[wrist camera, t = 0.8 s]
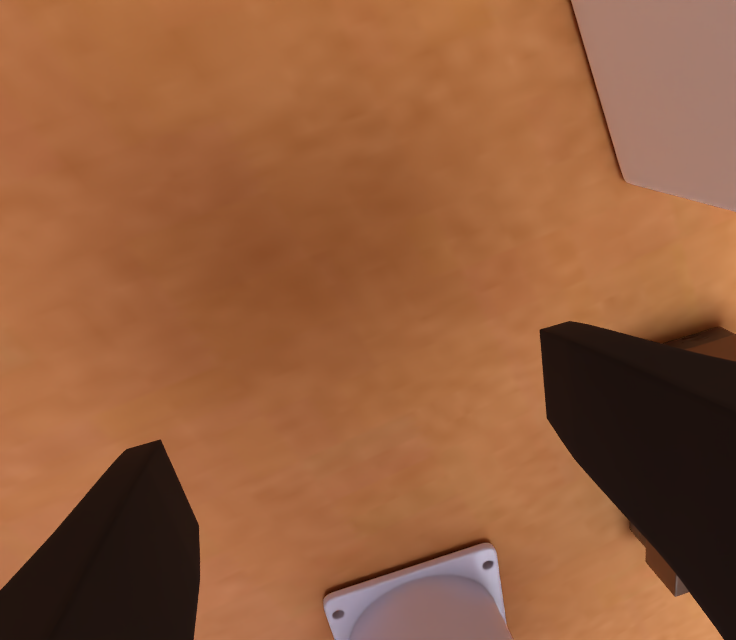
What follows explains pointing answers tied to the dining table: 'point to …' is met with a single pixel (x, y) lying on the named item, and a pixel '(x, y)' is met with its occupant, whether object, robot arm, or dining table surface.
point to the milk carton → (667, 91)
